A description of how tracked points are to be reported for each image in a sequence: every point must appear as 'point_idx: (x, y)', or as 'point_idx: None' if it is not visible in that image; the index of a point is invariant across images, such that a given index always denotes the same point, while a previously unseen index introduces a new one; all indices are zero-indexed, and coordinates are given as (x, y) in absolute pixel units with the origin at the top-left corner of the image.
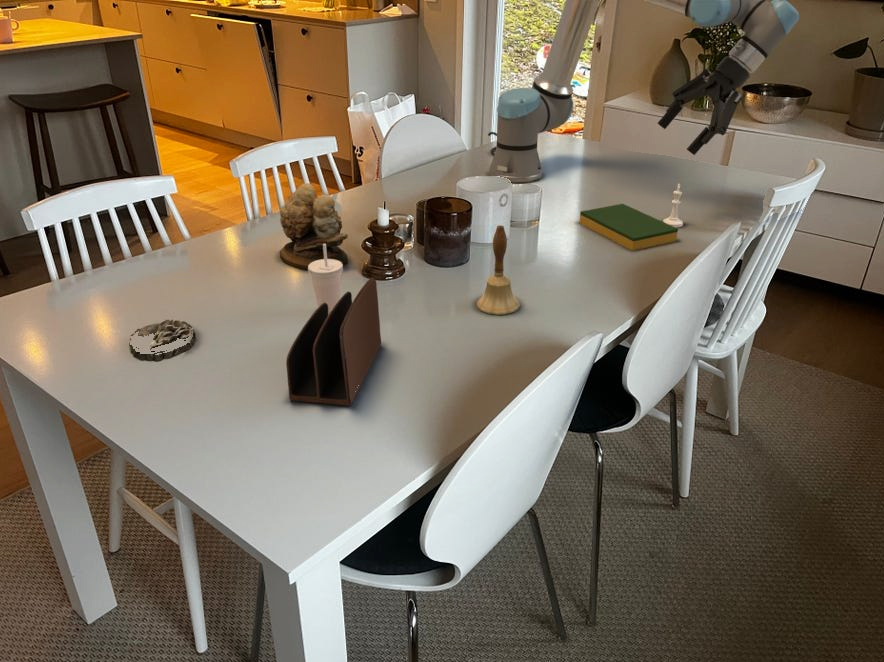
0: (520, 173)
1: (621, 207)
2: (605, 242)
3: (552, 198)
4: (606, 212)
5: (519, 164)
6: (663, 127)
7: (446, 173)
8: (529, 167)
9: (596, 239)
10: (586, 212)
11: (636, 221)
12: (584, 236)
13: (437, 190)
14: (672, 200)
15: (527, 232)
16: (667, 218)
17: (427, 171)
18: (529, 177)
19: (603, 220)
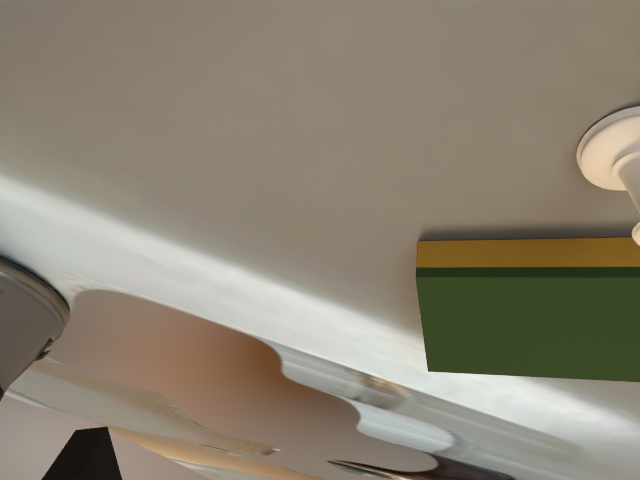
0: (52, 330)
1: (453, 297)
2: None
3: (205, 302)
4: (473, 341)
5: (31, 352)
6: (114, 460)
7: None
8: (25, 327)
9: None
10: (443, 367)
11: (609, 327)
12: None
13: (139, 400)
14: (638, 243)
15: (431, 406)
16: (602, 172)
17: None
18: (48, 303)
19: (530, 370)
